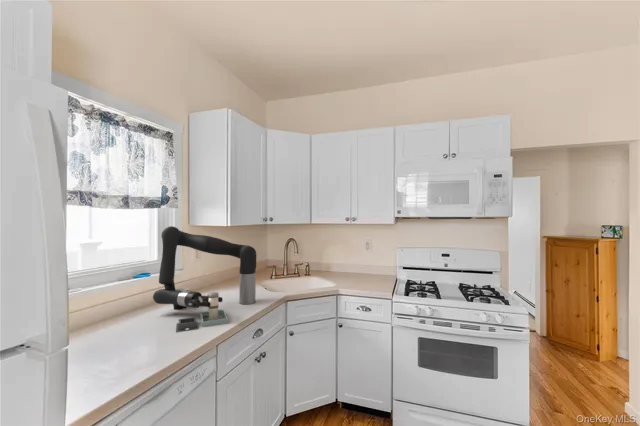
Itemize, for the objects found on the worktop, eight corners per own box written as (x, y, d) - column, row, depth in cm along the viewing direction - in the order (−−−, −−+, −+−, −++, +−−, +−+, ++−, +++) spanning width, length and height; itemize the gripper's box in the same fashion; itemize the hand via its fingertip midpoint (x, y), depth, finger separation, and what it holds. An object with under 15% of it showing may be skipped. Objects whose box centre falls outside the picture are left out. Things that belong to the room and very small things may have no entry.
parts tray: (200, 318, 145) (200, 312, 145) (223, 315, 150) (223, 309, 150) (202, 328, 131) (202, 322, 131) (227, 325, 136) (227, 318, 136)
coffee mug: (181, 310, 157) (182, 292, 157) (167, 310, 159) (168, 291, 159) (195, 304, 169) (195, 287, 169) (182, 303, 170) (182, 286, 170)
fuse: (207, 319, 142) (208, 292, 142) (217, 318, 144) (218, 291, 144) (208, 323, 137) (208, 295, 138) (218, 321, 139) (219, 294, 140)
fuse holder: (176, 325, 136) (176, 317, 136) (197, 322, 139) (197, 315, 140) (175, 334, 125) (175, 326, 125) (198, 331, 129) (198, 323, 129)
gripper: (178, 294, 139) (205, 298, 134) (200, 288, 153) (225, 290, 147) (178, 310, 139) (205, 314, 133) (199, 302, 152) (225, 305, 147)
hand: (216, 302), depth 140 cm, fingers open, 8 cm apart
